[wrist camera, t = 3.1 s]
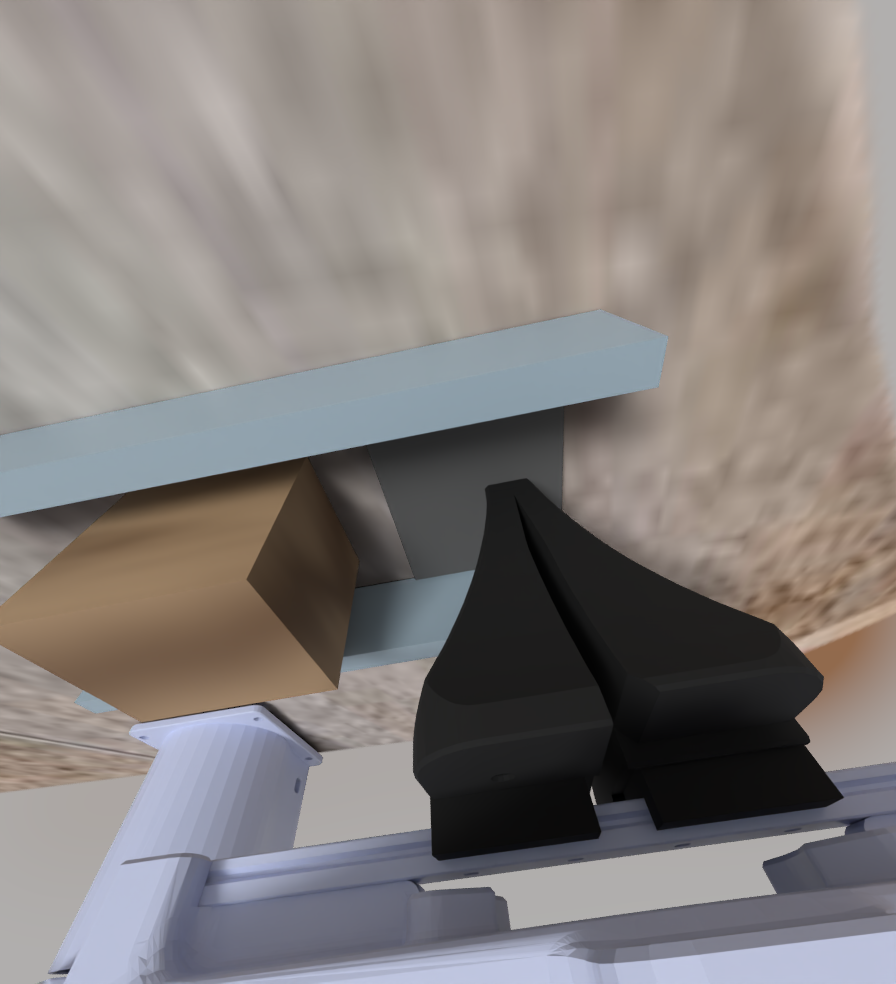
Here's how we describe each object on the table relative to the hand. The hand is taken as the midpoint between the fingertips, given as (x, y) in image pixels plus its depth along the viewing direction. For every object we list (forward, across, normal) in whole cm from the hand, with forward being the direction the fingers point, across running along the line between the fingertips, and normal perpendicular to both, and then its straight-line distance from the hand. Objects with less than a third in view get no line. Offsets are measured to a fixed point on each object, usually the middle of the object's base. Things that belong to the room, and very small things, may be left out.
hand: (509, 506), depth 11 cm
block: (+1, +9, 0) cm, 9 cm away
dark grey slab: (+1, +1, 0) cm, 2 cm away
